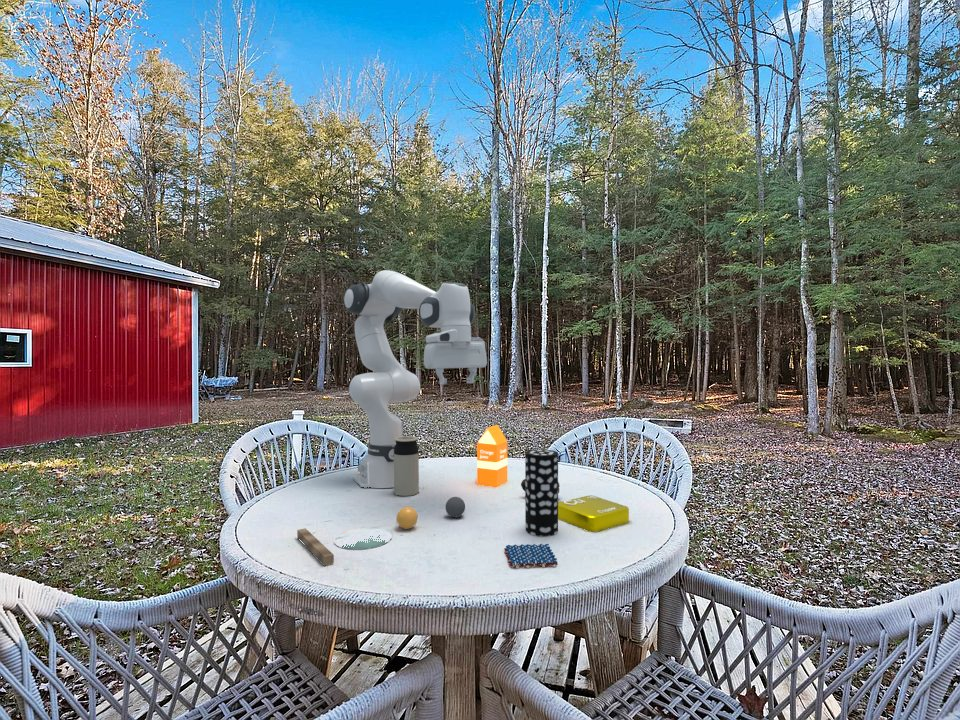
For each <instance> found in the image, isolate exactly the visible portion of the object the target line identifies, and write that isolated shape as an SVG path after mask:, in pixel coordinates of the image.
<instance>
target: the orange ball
mask: <svg viewBox="0 0 960 720" xmlns="http://www.w3.org/2000/svg"><path fill="white" fill-rule="evenodd" d="M418 517H419V515H418V513H417V511H416V509H415V508H414V507H411V506H405V507H402V508H401V509H399V510H398V512H397V514H396V523H397V525H398V526H399V527H400V528H402V529H403V530H408V529H412V528H413V527H415V526H416V524H417V522H418Z"/></svg>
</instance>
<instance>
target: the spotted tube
mask: <svg viewBox="0 0 960 720" xmlns="http://www.w3.org/2000/svg"><path fill="white" fill-rule="evenodd" d="M524 457H525V458H524V459H525V461H524V463H525V467H524V468H525V470H524V471H525V473H524V474H525V491H524V493H525V495H524V496H525V499H524V500H525V501H524V502H525V503H524V504H525V505H524V506H525V508H524V509H525V513H524V514H525V515H524V516H525V532H526V533H527V534H530V535H533V536H535V535H536V536H537V537H550V536H551V537H552V536H555V535H556V534H558V533H559V519H558V502H559V493H558V482H559V452H558V451H555V450H551V449H543V448H542V449H539V448H537V449H530V450H526V451H525V456H524Z"/></svg>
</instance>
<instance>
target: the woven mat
mask: <svg viewBox="0 0 960 720" xmlns="http://www.w3.org/2000/svg"><path fill="white" fill-rule="evenodd" d="M503 549H504V552H503V553H504V554H505V557H506V559H507V563H508V566H509V567H510V568H511V569H512V570H514V568H515V569H517V570H518V569H520V568H521V570H522V569H523V570H524V569H525V568H526V569H530V568H532V569H533V568H535V567H536V568H539V569H540V568H542V569H545V568H548V569H550V566H552V568H556V567H557V565H558V561H557V559H558V558H557V557H556V555H555V554H554V552H553V550H552V548H551V546H550V545H549V543H546V544H544V543H540V544H539V543H538V544H535V543H533V544H532V543H531V544H529V543H528V544H523V543H521V544H516V543H515V544H507V545H506V546H505V547H504V548H503Z"/></svg>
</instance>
